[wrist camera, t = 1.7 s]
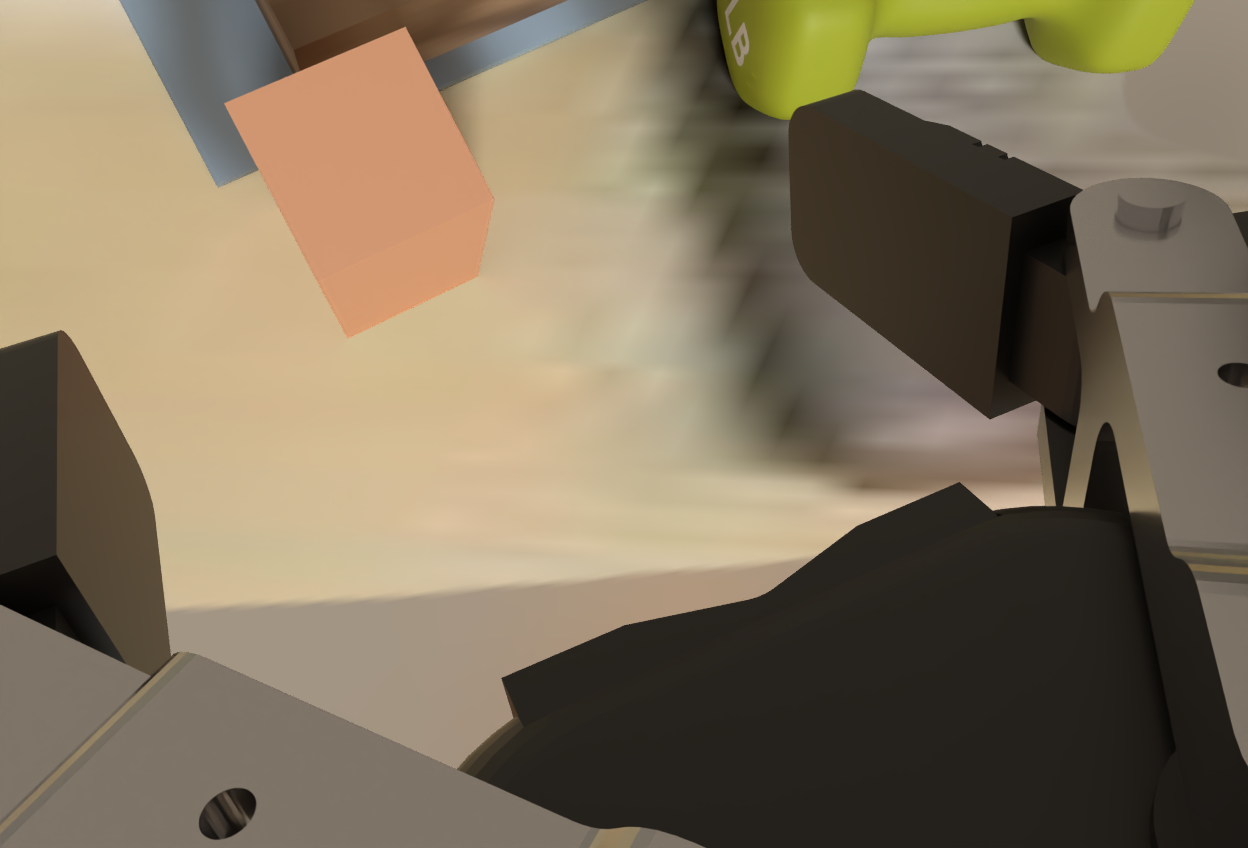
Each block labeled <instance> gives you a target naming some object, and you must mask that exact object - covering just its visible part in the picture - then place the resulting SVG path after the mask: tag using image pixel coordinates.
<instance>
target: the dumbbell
mask: <svg viewBox="0 0 1248 848" xmlns="http://www.w3.org/2000/svg"><path fill="white" fill-rule="evenodd" d="M1193 2H1194V0H717V12H718V20H719V26H720V32H721V37H722V42H723V47H724V51H725V56H726V61H727V65H728V69H729V72H730V76H731V79H732V82H733V85H734V87H735V89H736V91H737V93H738V94H739V96H740V97H741V99H742V100H743V101H744V102H745V103H747V104H748V105H749V106H751V107H753V108H754V109H756V110H758V111H760V112H762V113H764V114H766V115H768V116H771V117H775V118H778V119H783V120H791V117H792V114H793V113H794V111H795V110H796V109H797V108H798V107H800V106H804V105H807V104H810V103H813V102H817V101H820V100H823V99H827V98H830V97H833V96H836V95H840V94H843V93H846V92H850V91H853V90H854V87H855V85H856V82H857V80H858V78H859V74H860V71H861V68H862V65H863V61H864V58H865V54H866V51H867V47H868V43H869V42H870V40H872V39H873V38H879V37H914V36H925V35H935V34H944V33H953V32H960V31H966V30H972V29H978V28H984V27H989V26H994V25H999V24H1004V23H1007V22H1011V21H1015V20H1019V19H1023V18H1024V22H1025V25H1026V29H1027V32H1028V36H1029V39H1030V42H1031V45H1032V47H1033V50H1034V51H1035V52H1036V54H1037V55H1038V56H1039V57H1040V58H1041V59H1043V60H1045V61H1047V62H1049V63H1052V64H1055V65H1058V66H1062V67H1066V68H1069V69H1073V70H1078V71H1083V72H1090V73H1120V72H1127V71H1133V70H1138V69H1141V68H1144V67H1147V66H1149V65H1150V64H1151V63H1152V62H1154V61H1155V60H1156V59H1157V58H1158V57H1159V56H1160V55H1161V54H1162V53H1163V51H1164V50H1165V49H1166V47H1167V46H1168V44H1169V42H1170V41H1171V39H1172V38H1173V36H1174V35H1175V33H1176V31H1177V30H1178V28H1179V26H1180V25H1181V23H1182V21H1183V19H1184V18H1185V16H1186V14H1187V13H1188V11H1189V9H1190V8H1191V6H1192V4H1193Z"/></svg>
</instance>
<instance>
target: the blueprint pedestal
mask: <svg viewBox="0 0 1248 848" xmlns="http://www.w3.org/2000/svg"><path fill="white" fill-rule="evenodd" d="M644 1H646V0H120V2H121V4H122V6H123V8H124V10H125V12H126V14H127V15H128V17H129V19H130V21H131V23H132V25H133V27H134V29H135V31H136V33H137V35H138V36H139V38H140V40H141V42H142V44H143V46H144V48H145V50H146V52H147V54H148V56H149V57H150V59H151V61H152V63H153V65H154V67H155V69H156V71H157V73H158V75H159V76H160V78H161V80H162V82H163V84H164V86H165V88H166V90H167V92H168V94H169V96H170V97H171V99H172V101H173V103H174V105H175V107H176V109H177V111H178V113H179V115H180V117H181V118H182V120H183V122H184V124H185V126H186V128H187V130H188V132H189V134H190V136H191V138H192V139H193V141H194V143H195V145H196V147H197V149H198V151H199V153H200V155H201V157H202V159H203V160H204V162H205V164H206V166H207V168H208V170H209V172H210V174H211V176H212V178H213V179H214V181H215V183H216V185H217V186H218V187H221V186H223V185H225V184H227V183H230V182H232V181H234V180H237V179H239V178H241V177H243V176H246V175H248V174H250V173H253V172H255V171H257V170H259V169H258V168H257V166H256V164H255V162H254V160H253V158H252V156H251V154H250V152H249V150H248V148H247V146H246V145H245V143H244V141H243V139H242V137H241V135H240V133H239V131H238V129H237V127H236V125H235V124H234V122H233V120H232V118H231V116H230V114H229V112H228V110H227V108H226V106H225V104H224V103H226V102H228V101H231V100H233V99H235V98H238V97H240V96H242V95H245V94H247V93H250V92H252V91H254V90H257V89H259V88H261V87H264V86H266V85H269V84H271V83H273V82H276V81H278V80H280V79H283V78H285V77H288V76H290V75H292V74H295V73H297V72H299V71H302V70H304V69H307V68H309V67H311V66H314V65H316V64H318V63H321V62H323V61H325V60H328V59H330V58H333V57H335V56H337V55H340V54H342V53H344V52H347V51H349V50H352V49H354V48H356V47H359V46H361V45H363V44H366V43H368V42H371V41H373V40H375V39H378V38H380V37H382V36H385V35H387V34H390V33H392V32H394V31H397V30H399V29H401V28H404V27H406V29H407V31H408V33H409V35H410V36H411V38H412V40H413V42H414V44H415V46H416V48H417V50H418V52H419V54H420V56H421V58H422V60H423V62H424V64H425V66H426V67H427V69H428V71H429V73H430V75H431V77H432V79H433V81H434V83H435V85H436V87H437V89H438V91H440V90H443V89H445V88H447V87H450V86H452V85H454V84H456V83H459V82H461V81H463V80H466V79H468V78H470V77H472V76H475V75H477V74H479V73H482V72H484V71H486V70H488V69H491V68H493V67H495V66H498V65H500V64H502V63H504V62H507V61H509V60H511V59H514V58H516V57H518V56H520V55H523V54H525V53H527V52H530V51H532V50H534V49H537V48H539V47H541V46H543V45H546V44H548V43H550V42H553V41H555V40H557V39H559V38H562V37H564V36H566V35H569V34H571V33H573V32H575V31H578V30H580V29H582V28H585V27H587V26H589V25H591V24H594V23H596V22H598V21H601V20H603V19H605V18H608V17H610V16H612V15H614V14H617V13H619V12H621V11H624V10H626V9H628V8H630V7H633V6H635V5H637V4H640V3H642V2H644Z"/></svg>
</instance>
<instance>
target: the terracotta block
mask: <svg viewBox="0 0 1248 848" xmlns="http://www.w3.org/2000/svg"><path fill="white" fill-rule="evenodd" d="M224 104H225V106H226V108H227V110H228V112H229V114H230V116H231V118H232V120H233V122H234V124H235V125H236V127H237V129H238V131H239V133H240V135H241V137H242V139H243V141H244V143H245V145H246V146H247V148H248V150H249V152H250V154H251V156H252V158H253V160H254V162H255V164H256V166H257V168H258V169H259V171H260V173H261V175H262V177H263V179H264V181H265V183H266V185H267V187H268V189H269V190H270V192H271V194H272V196H273V198H274V200H275V202H276V204H277V206H278V208H279V210H280V211H281V213H282V215H283V217H284V219H285V221H286V223H287V225H288V227H289V229H290V231H291V233H292V234H293V236H294V238H295V240H296V242H297V244H298V246H299V248H300V250H301V252H302V254H303V255H304V257H305V259H306V261H307V263H308V265H309V267H310V269H311V271H312V273H313V275H314V277H315V278H316V280H317V282H318V284H319V286H320V288H321V290H322V291H323V293H324V295H325V297H326V299H327V301H328V303H329V304H330V306H331V308H332V310H333V312H334V314H335V316H336V317H337V319H338V321H339V323H340V325H341V327H342V328H343V330H344V332H345V334H346V336H347V338H350V337H352V336H354V335H356V334H358V333H360V332H362V331H364V330H366V329H368V328H371V327H373V326H375V325H377V324H379V323H381V322H383V321H385V320H387V319H389V318H391V317H394V316H396V315H398V314H400V313H402V312H404V311H406V310H408V309H410V308H412V307H415V306H417V305H419V304H421V303H423V302H425V301H427V300H429V299H431V298H433V297H435V296H438V295H440V294H442V293H444V292H446V291H448V290H450V289H452V288H454V287H456V286H458V285H461V284H463V283H465V282H467V281H469V280H471V279H473V278H475V277H477V276H478V273H479V268H480V263H481V259H482V254H483V250H484V245H485V240H486V236H487V231H488V227H489V222H490V217H491V213H492V208H493V204H494V197H493V195H492V193H491V191H490V189H489V187H488V186H487V184H486V182H485V180H484V178H483V176H482V174H481V172H480V170H479V168H478V166H477V164H476V162H475V160H474V158H473V157H472V155H471V153H470V151H469V149H468V147H467V145H466V143H465V141H464V139H463V137H462V135H461V133H460V131H459V129H458V127H457V126H456V124H455V122H454V120H453V118H452V116H451V114H450V112H449V110H448V108H447V106H446V104H445V102H444V100H443V98H442V96H441V95H440V93H439V91H438V89H437V87H436V85H435V83H434V81H433V79H432V77H431V75H430V73H429V71H428V69H427V67H426V66H425V64H424V62H423V60H422V58H421V56H420V54H419V52H418V50H417V48H416V46H415V44H414V42H413V40H412V38H411V36H410V35H409V33H408V31H407V29H406V27H404V28H401V29H399V30H397V31H394V32H392V33H390V34H387V35H385V36H382V37H380V38H378V39H375V40H373V41H371V42H368V43H366V44H363V45H361V46H359V47H356V48H354V49H352V50H349V51H347V52H344V53H342V54H340V55H337V56H335V57H333V58H330V59H328V60H325V61H323V62H321V63H318V64H316V65H314V66H311V67H309V68H307V69H304V70H302V71H299V72H297V73H295V74H292V75H290V76H288V77H285V78H283V79H280V80H278V81H276V82H273V83H271V84H269V85H266V86H264V87H261V88H259V89H257V90H254V91H252V92H250V93H247V94H245V95H242V96H240V97H238V98H235V99H233V100H231V101H228V102H226V103H224Z"/></svg>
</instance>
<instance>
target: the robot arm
mask: <svg viewBox="0 0 1248 848" xmlns="http://www.w3.org/2000/svg"><path fill="white" fill-rule="evenodd" d="M789 168H790V200H791V231H792V240H793V245H794V249H795V253H796V255H797V258H798V261H799V263H800V265H801V267H802V269H803V270H804V272H805V273H806V275H807V276H808V277H809V279H810V280H811V281H812V282H814V283H815V284H816V285H817V286H819V287H820V288H821V289H822V290H824V291H825V292H826V293H828V294H829V295H830V296H831V297H833V298H834V299H835V300H837V301H838V302H839V303H841V304H842V305H843V306H844V307H846V308H847V309H848V310H850V311H851V312H852V313H853V314H855V315H856V316H857V317H859V318H860V319H861V320H862V321H864V322H865V323H866V324H868V325H869V326H870V327H871V328H873V329H874V330H875V331H877V332H878V333H879V334H880V335H882V336H883V337H884V338H886V339H887V340H888V341H889V342H891V343H892V344H893V345H895V346H896V347H897V348H898V349H900V350H901V351H902V352H904V353H905V354H906V355H907V356H909V357H910V358H911V359H913V360H914V361H915V362H916V363H918V364H919V365H920V366H922V367H923V368H924V369H925V370H927V371H928V372H929V373H931V374H932V375H933V376H934V377H936V378H937V379H938V380H940V381H941V382H942V383H944V384H945V385H946V386H947V387H949V388H950V389H951V390H953V391H954V392H955V393H956V394H958V395H959V396H960V397H962V398H963V399H964V400H965V401H967V402H968V403H969V404H971V405H972V406H973V407H974V408H976V409H977V410H978V411H980V412H981V413H982V414H983V415H985V416H986V417H987V418H989V419H992V418H995V417H997V416H999V415H1002V414H1004V413H1007V412H1009V411H1011V410H1014V409H1016V408H1019V407H1021V406H1024V405H1026V404H1028V403H1031V402H1033V401H1038V402H1039V403H1041V409H1040V416H1039V423H1038V433H1037V436H1038V445H1039V454H1040V463H1041V472H1042V482H1043V491H1044V500H1045V506H1028V507H1018V508H1008V509H1000V510H994V511H992V510H991V509H990V508H989V507H988V506H986V505H985V504H984V503H983V502H982V501H981V500H980V499H978V498H977V497H976V496H975V495H974V494H973V493H972V492H970V491H969V490H968V489H967V488H966V487H965V486H964V485H962V484H961V483H960V482H959V483H956V484H954V485H952V486H949V487H947V488H945V489H942V490H940V491H938V492H935V493H933V494H931V495H928V496H926V497H924V498H921V499H919V500H917V501H914V502H912V503H910V504H907V505H905V506H903V507H900V508H898V509H896V510H893V511H891V512H889V513H886V514H884V515H882V516H879V517H877V518H875V519H872V520H870V521H868V522H865V523H863V524H861V525H858V526H856V527H855V528H854V529H852V530H851V531H850V532H848V533H847V534H846V535H844V536H843V537H842V538H840V539H839V540H838V541H836V542H835V543H834V544H832V545H831V546H830V547H828V548H827V549H826V550H824V551H823V552H822V553H820V554H819V555H818V556H816V557H815V558H814V559H812V560H811V561H810V562H808V563H807V564H806V565H804V566H803V567H802V568H800V569H799V570H798V571H796V572H795V573H794V574H792V575H791V576H790V577H788V578H787V579H786V580H784V581H783V582H782V583H780V584H779V585H778V586H777V587H775V588H774V589H772V590H771V591H769V592H768V593H766V594H764V595H761V596H759V597H757V598H753V599H750V600H745V601H740V602H736V603H731V604H726V605H721V606H716V607H711V608H707V609H702V610H697V611H692V612H687V613H682V614H677V615H672V616H668V617H663V618H658V619H653V620H648V621H643V622H639V623H634V624H629V625H624V626H622V627H620V628H617V629H615V630H613V631H611V632H608V633H606V634H603V635H601V636H599V637H596V638H594V639H592V640H589V641H587V642H585V643H582V644H580V645H578V646H575V647H573V648H571V649H568V650H566V651H564V652H561V653H559V654H557V655H554V656H552V657H550V658H547V659H545V660H543V661H540V662H538V663H536V664H533V665H531V666H529V667H526V668H524V669H522V670H519V671H517V672H515V673H512V674H510V675H508V676H506V677H503V678H502V682H503V685H504V688H505V692H506V695H507V698H508V701H509V705H510V707H511V711H512V714H513V719H512V720H511V721H509V722H508V723H507V724H506V725H504V726H503V727H501V728H500V729H499V730H497V731H496V732H495V733H494V734H492V735H491V736H490V737H489V738H488V739H487V740H486V741H485V742H484V743H482V744H481V745H480V746H479V747H478V748H477V749H476V750H475V751H474V752H472V753H471V755H469V756H468V757H467V758H466V760H465V761H464V762H463V763H462V764H461V765H460V766H459V768H458V769H455V768H452V767H450V766H448V765H446V764H443V763H441V762H439V761H436V760H434V759H432V758H430V757H428V756H425V755H423V754H421V753H419V752H416V751H414V750H412V749H410V748H407V747H405V746H403V745H401V744H399V743H396V742H394V741H392V740H390V739H387V738H385V737H383V736H380V735H378V734H376V733H374V732H372V731H369V730H367V729H365V728H363V727H360V726H358V725H356V724H354V723H351V722H349V721H347V720H345V719H342V718H340V717H338V716H336V715H333V714H331V713H329V712H327V711H324V710H322V709H320V708H317V707H315V706H313V705H311V704H309V703H306V702H304V701H302V700H299V699H297V698H295V697H293V696H291V695H288V694H286V693H284V692H282V691H280V690H277V689H275V688H273V687H271V686H268V685H266V684H264V683H262V682H259V681H257V680H255V679H252V678H250V677H248V676H246V675H244V674H241V673H239V672H237V671H234V670H232V669H230V668H228V667H226V666H223V665H221V664H219V663H217V662H214V661H212V660H210V659H208V658H205V657H202V656H200V655H197V654H193V653H189V652H178V653H175V654H173V655H172V656H171V653H170V644H169V636H168V627H167V618H166V609H165V601H164V592H163V583H162V574H161V566H160V557H159V548H158V539H157V531H156V522H155V514H154V508H153V503H152V500H151V496H150V493H149V490H148V487H147V484H146V481H145V479H144V476H143V473H142V471H141V469H140V466H139V464H138V462H137V460H136V458H135V456H134V454H133V452H132V450H131V448H130V446H129V444H128V443H127V441H126V439H125V437H124V435H123V433H122V431H121V429H120V428H119V426H118V424H117V422H116V420H115V418H114V416H113V414H112V413H111V411H110V409H109V407H108V405H107V403H106V401H105V399H104V398H103V396H102V394H101V392H100V390H99V388H98V386H97V384H96V383H95V381H94V379H93V377H92V375H91V373H90V371H89V369H88V368H87V366H86V364H85V362H84V360H83V358H82V356H81V355H80V353H79V351H78V349H77V348H76V346H75V344H74V343H73V341H72V340H71V339H70V337H69V336H68V335H67V334H66V333H65V332H64V331H62V330H60V331H57V332H54V333H50V334H47V335H44V336H41V337H37V338H34V339H31V340H27V341H24V342H21V343H18V344H14V345H11V346H8V347H4V348H1V349H0V848H1248V211H1245V212H1238V213H1232V212H1231V210H1230V208H1229V206H1228V205H1227V204H1226V203H1225V202H1224V201H1223V200H1222V199H1221V198H1219V197H1218V196H1216V195H1215V194H1213V193H1211V192H1209V191H1207V190H1205V189H1203V188H1200V187H1197V186H1194V185H1191V184H1186V183H1182V182H1178V181H1172V180H1166V179H1155V178H1128V179H1119V180H1112V181H1107V182H1103V183H1100V184H1096V185H1093V186H1091V187H1089V188H1087V189H1085V190H1082V189H1080V188H1078V187H1076V186H1074V185H1072V184H1069V183H1067V182H1065V181H1063V180H1061V179H1059V178H1057V177H1055V176H1053V175H1051V174H1049V173H1047V172H1045V171H1042V170H1040V169H1038V168H1036V167H1034V166H1032V165H1030V164H1028V163H1026V162H1024V161H1022V160H1020V159H1017V158H1015V157H1012V158H1008V156H1007V153H1005V152H1003V151H1001V150H999V149H997V148H995V147H993V146H990V145H988V144H986V145H983V146H982V143H981V141H980V140H978V139H976V138H974V137H972V136H970V135H968V134H966V133H963V132H961V131H959V130H957V129H955V128H953V127H951V126H948V125H943V124H939V123H934V122H929V121H924V120H922V119H920V118H918V117H916V116H914V115H912V114H910V113H908V112H906V111H903V110H901V109H899V108H897V107H895V106H893V105H891V104H889V103H887V102H885V101H883V100H881V99H879V98H877V97H875V96H873V95H871V94H869V93H867V92H865V91H862V90H853V91H850V92H846V93H843V94H840V95H836V96H833V97H830V98H827V99H823V100H820V101H817V102H813V103H810V104H807V105H804V106H800V107H798V108H797V109H796V110H795V111H794V113H793V114H792V117H791V120H790V123H789Z"/></svg>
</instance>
